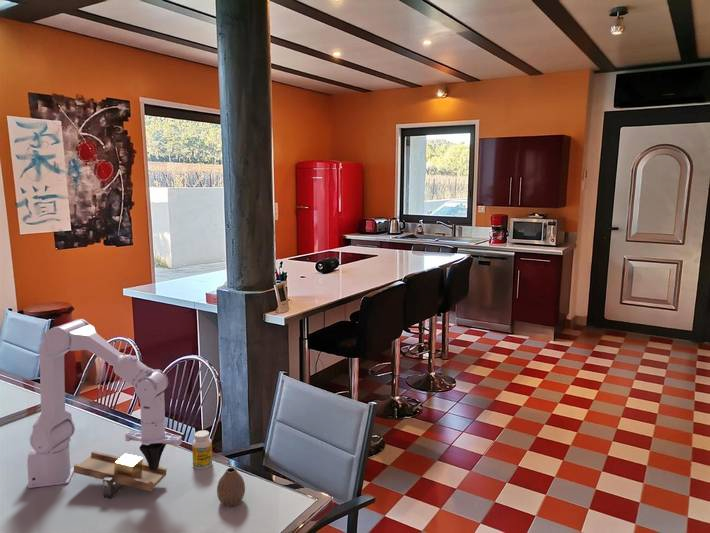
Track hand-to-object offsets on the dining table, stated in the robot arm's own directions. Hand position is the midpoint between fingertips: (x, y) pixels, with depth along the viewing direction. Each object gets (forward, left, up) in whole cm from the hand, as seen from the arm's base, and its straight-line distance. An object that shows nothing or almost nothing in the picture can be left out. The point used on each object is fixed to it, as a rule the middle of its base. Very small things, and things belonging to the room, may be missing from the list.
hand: (154, 468), depth 133 cm
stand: (-9, +4, -6) cm, 12 cm away
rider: (-7, +3, -2) cm, 8 cm away
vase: (+19, -10, -6) cm, 22 cm away
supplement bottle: (+12, +10, -6) cm, 17 cm away
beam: (-9, +4, -2) cm, 10 cm away
